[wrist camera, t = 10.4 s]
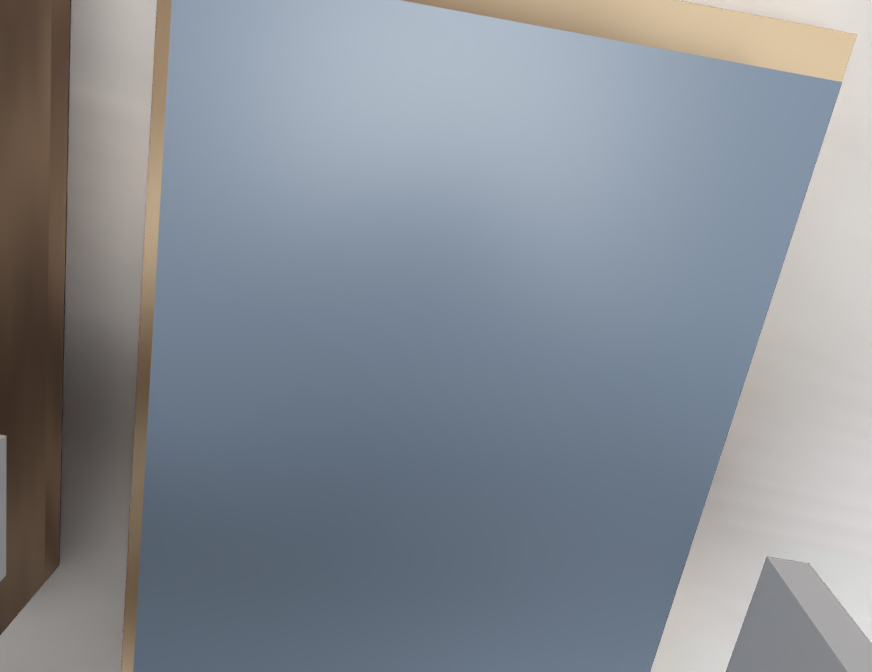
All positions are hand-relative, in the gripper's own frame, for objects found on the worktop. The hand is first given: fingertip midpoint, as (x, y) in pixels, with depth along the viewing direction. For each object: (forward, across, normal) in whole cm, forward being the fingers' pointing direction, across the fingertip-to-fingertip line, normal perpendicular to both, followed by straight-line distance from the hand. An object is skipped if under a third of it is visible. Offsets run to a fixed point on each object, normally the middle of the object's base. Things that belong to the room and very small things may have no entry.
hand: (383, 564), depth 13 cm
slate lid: (+5, -1, 0) cm, 5 cm away
